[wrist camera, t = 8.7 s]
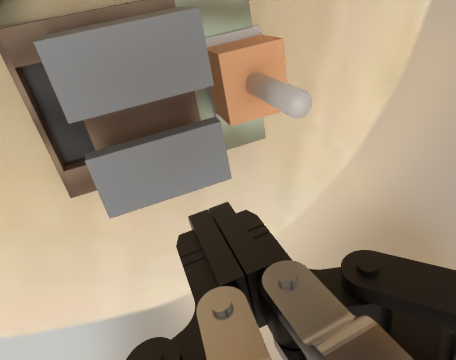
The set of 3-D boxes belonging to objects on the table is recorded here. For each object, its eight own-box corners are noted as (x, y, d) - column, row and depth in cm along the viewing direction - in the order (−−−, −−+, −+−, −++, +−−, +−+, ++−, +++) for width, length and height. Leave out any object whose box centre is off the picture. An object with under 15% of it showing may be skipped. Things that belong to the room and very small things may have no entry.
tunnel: (48, 33, 28) (33, 42, 21) (175, 6, 30) (199, 7, 24) (106, 177, 35) (109, 218, 28) (206, 147, 37) (231, 178, 31)
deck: (-3, 29, 29) (-11, 31, 27) (236, -19, 33) (246, -21, 31) (72, 187, 37) (70, 198, 35) (256, 131, 41) (265, 137, 39)
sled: (199, 38, 32) (252, 55, 21) (257, 25, 33) (335, 34, 22) (215, 118, 36) (267, 166, 25) (266, 103, 37) (336, 143, 26)
